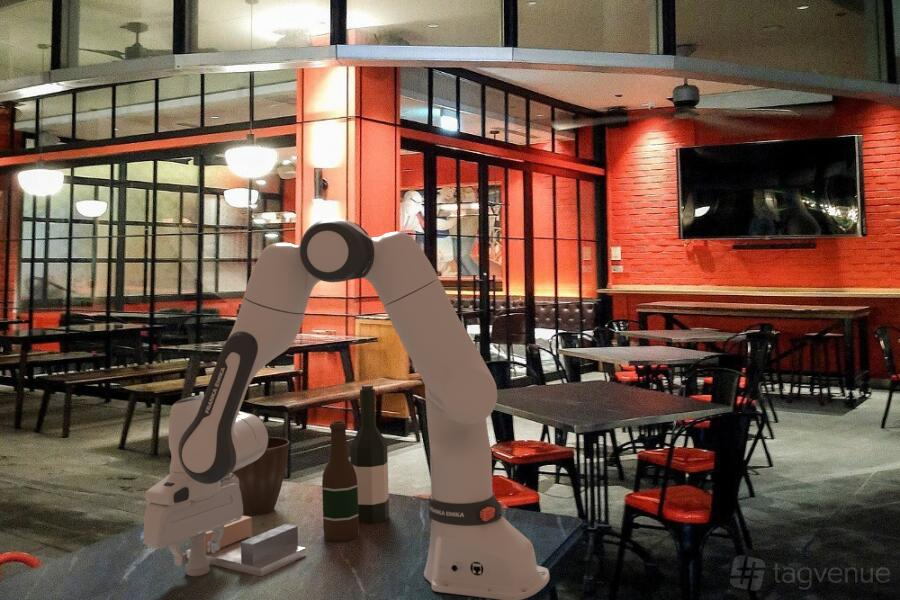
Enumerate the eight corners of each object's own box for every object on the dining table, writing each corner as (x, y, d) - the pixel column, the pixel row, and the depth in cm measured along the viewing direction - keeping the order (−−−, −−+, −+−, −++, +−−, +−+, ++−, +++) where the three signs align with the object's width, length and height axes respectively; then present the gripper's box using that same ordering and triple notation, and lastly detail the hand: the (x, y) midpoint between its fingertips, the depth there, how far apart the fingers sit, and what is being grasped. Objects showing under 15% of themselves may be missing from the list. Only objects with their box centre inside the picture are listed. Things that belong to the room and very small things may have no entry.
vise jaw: (252, 535, 154) (251, 517, 154) (205, 553, 143) (205, 534, 143) (241, 533, 155) (241, 515, 155) (194, 551, 145) (194, 532, 145)
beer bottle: (352, 543, 152) (349, 426, 152) (316, 541, 154) (313, 425, 154) (364, 531, 160) (361, 419, 160) (330, 529, 162) (327, 418, 161)
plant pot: (289, 499, 186) (287, 434, 186) (293, 516, 172) (291, 446, 172) (226, 505, 182) (224, 439, 182) (225, 523, 168) (223, 452, 168)
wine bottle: (396, 515, 170) (393, 384, 170) (373, 525, 163) (370, 388, 163) (367, 510, 175) (364, 382, 174) (344, 520, 168) (340, 386, 167)
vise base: (306, 555, 146) (305, 527, 146) (261, 576, 136) (260, 546, 136) (233, 539, 156) (232, 513, 156) (186, 558, 146) (185, 530, 146)
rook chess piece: (196, 579, 136) (195, 535, 135) (180, 574, 138) (178, 531, 138) (216, 570, 139) (214, 527, 139) (199, 566, 142) (198, 524, 142)
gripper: (226, 468, 149) (228, 538, 149) (137, 494, 131) (139, 572, 131) (249, 472, 146) (251, 543, 146) (160, 498, 128) (163, 579, 128)
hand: (197, 557), depth 139 cm, fingers open, 6 cm apart
